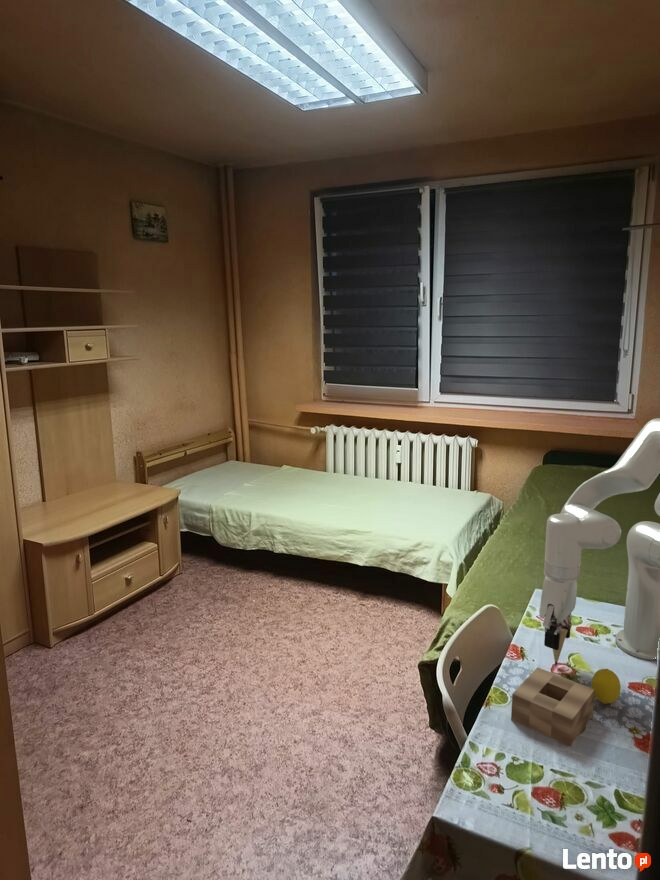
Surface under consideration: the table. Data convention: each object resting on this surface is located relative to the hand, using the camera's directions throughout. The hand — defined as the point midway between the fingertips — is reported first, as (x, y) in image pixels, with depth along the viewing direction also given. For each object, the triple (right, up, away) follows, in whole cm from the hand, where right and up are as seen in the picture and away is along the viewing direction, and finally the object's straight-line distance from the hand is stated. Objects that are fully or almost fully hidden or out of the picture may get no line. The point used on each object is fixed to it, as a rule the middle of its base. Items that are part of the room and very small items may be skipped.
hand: (557, 641), depth 139 cm
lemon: (+6, -9, -12) cm, 16 cm away
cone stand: (-7, -10, -16) cm, 20 cm away
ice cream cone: (0, -7, +1) cm, 7 cm away
